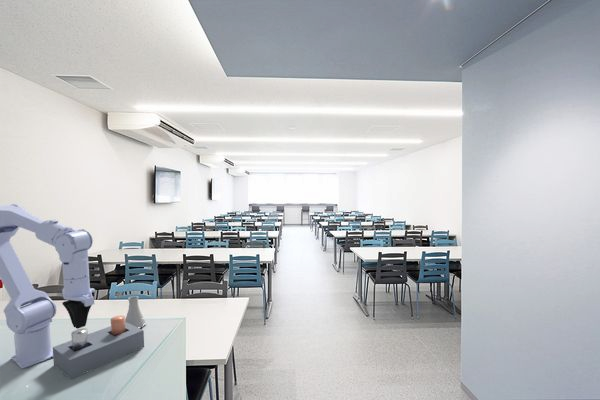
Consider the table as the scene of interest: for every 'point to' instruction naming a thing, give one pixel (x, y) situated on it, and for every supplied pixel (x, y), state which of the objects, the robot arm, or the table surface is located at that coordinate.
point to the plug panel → (97, 350)
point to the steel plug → (79, 339)
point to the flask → (134, 313)
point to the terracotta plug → (117, 325)
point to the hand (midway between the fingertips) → (79, 326)
